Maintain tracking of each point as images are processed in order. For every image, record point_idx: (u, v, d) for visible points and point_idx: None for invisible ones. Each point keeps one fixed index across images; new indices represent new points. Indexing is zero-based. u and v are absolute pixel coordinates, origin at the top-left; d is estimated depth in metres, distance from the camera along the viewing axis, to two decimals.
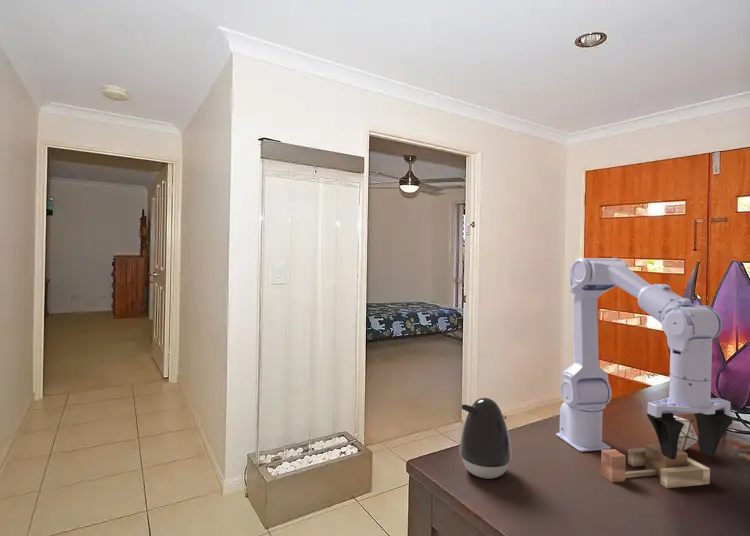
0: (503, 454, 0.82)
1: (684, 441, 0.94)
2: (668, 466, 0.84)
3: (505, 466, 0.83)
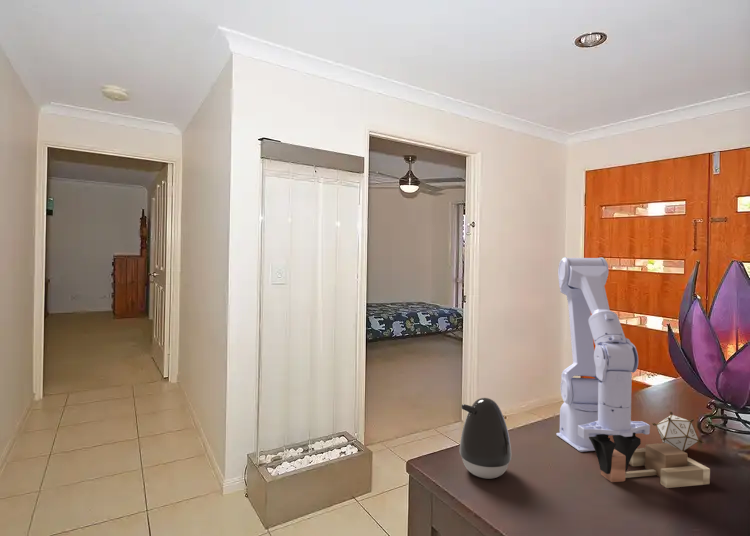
0: (503, 454, 0.82)
1: (684, 441, 0.94)
2: (668, 466, 0.84)
3: (505, 466, 0.83)
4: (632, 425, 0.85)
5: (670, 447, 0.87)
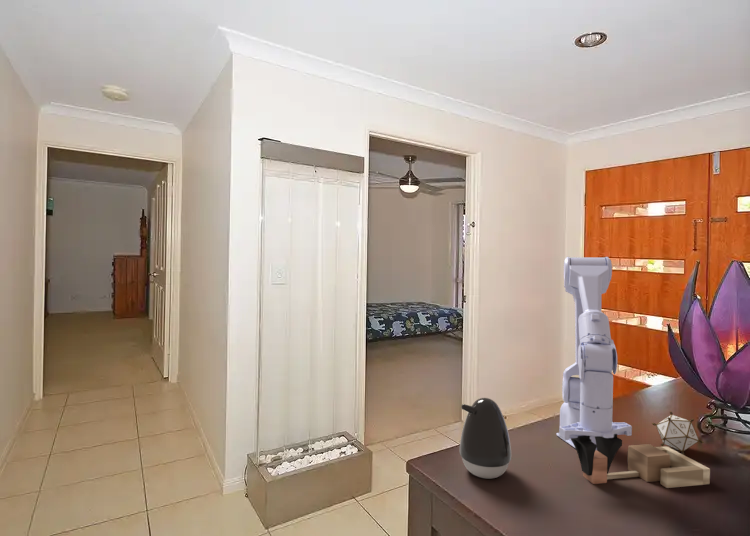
0: (503, 454, 0.82)
1: (684, 441, 0.94)
2: (650, 467, 0.83)
3: (505, 466, 0.83)
4: (614, 426, 0.84)
5: (653, 448, 0.87)
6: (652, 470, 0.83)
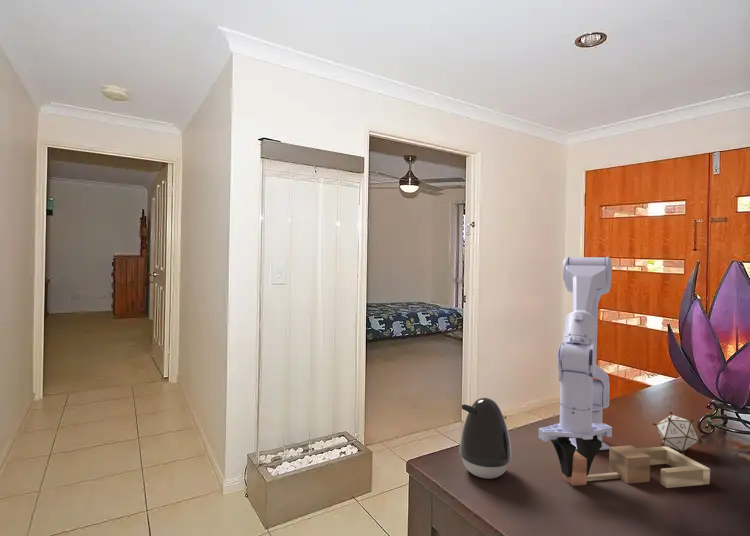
0: (503, 454, 0.82)
1: (684, 441, 0.94)
2: (630, 469, 0.83)
3: (505, 466, 0.83)
4: (594, 427, 0.84)
5: (634, 450, 0.86)
6: (632, 472, 0.83)
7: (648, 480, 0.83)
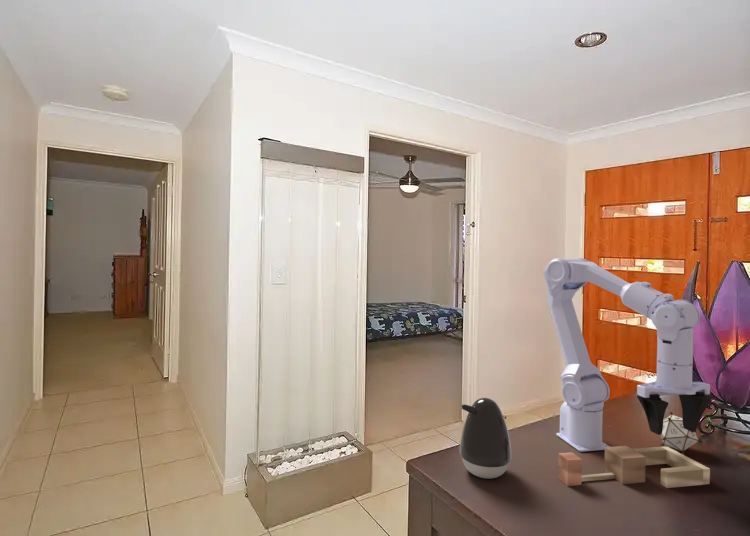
0: (503, 454, 0.82)
1: (684, 441, 0.94)
2: (625, 469, 0.83)
3: (505, 466, 0.83)
4: (692, 385, 0.84)
5: (629, 450, 0.86)
6: (627, 472, 0.83)
7: (643, 480, 0.83)
